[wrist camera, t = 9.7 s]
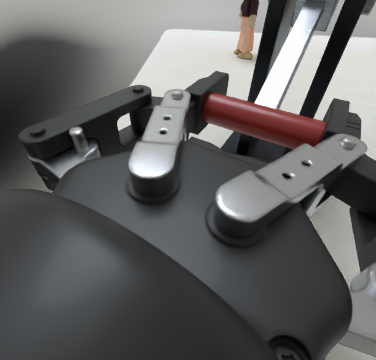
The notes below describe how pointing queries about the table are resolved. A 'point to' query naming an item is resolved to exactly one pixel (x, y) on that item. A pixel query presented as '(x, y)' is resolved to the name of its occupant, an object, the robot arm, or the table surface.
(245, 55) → the grandmother figurine
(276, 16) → the bracket
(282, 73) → the lever
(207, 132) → the table surface
